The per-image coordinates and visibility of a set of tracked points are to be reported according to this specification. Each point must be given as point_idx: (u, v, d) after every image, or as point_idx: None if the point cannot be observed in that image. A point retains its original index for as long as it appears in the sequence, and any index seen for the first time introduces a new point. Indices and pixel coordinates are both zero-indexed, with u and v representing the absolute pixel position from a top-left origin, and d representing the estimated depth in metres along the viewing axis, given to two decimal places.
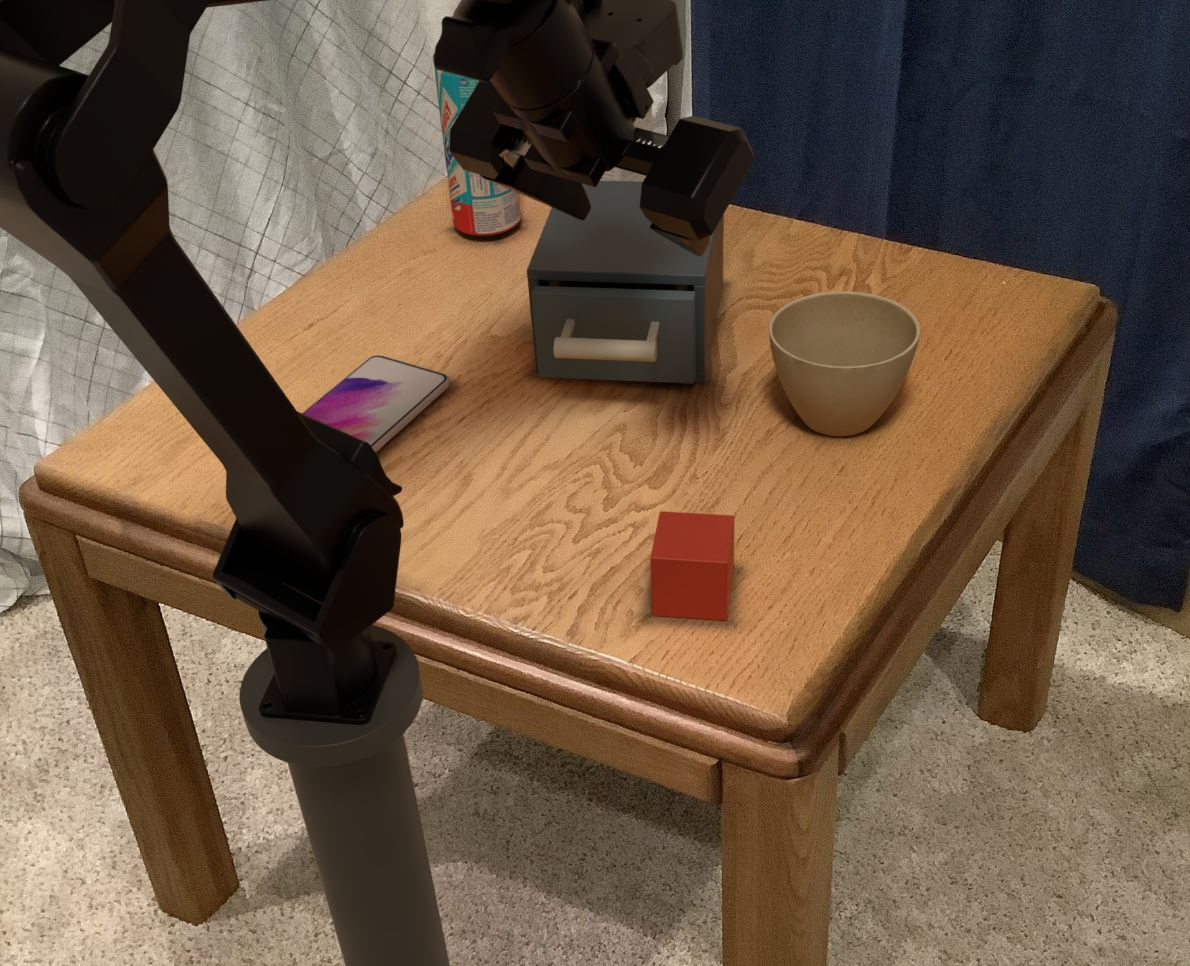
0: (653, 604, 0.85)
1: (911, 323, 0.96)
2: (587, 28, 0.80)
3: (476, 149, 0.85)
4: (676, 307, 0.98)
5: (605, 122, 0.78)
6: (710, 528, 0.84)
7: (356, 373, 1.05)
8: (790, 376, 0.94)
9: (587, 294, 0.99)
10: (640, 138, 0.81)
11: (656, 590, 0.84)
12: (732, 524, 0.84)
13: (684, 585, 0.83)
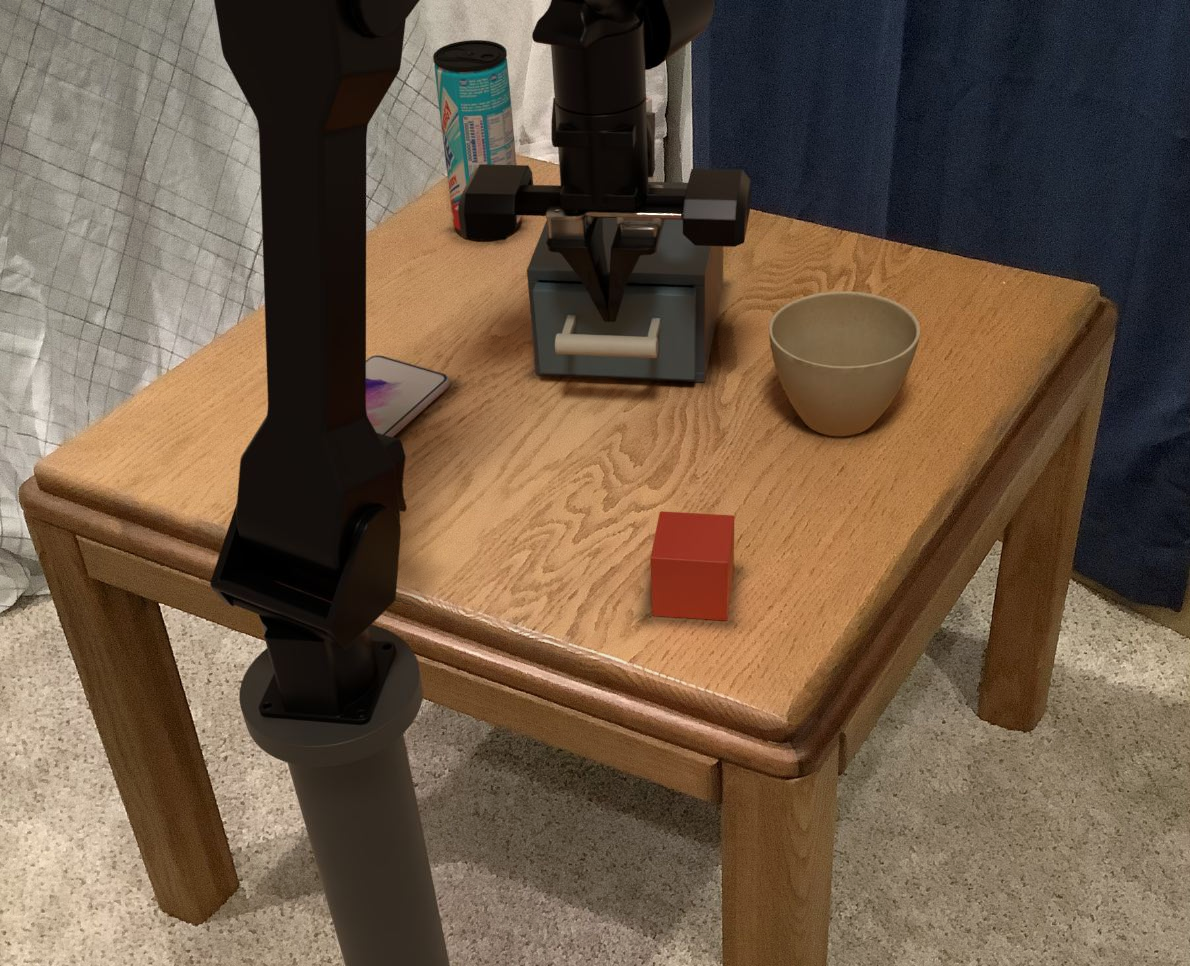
0: (653, 604, 0.85)
1: (911, 323, 0.96)
2: None
3: (496, 205, 0.92)
4: (677, 304, 0.99)
5: (645, 153, 0.90)
6: (710, 528, 0.84)
7: None
8: (790, 376, 0.94)
9: None
10: None
11: (656, 590, 0.84)
12: (732, 524, 0.84)
13: (684, 585, 0.83)
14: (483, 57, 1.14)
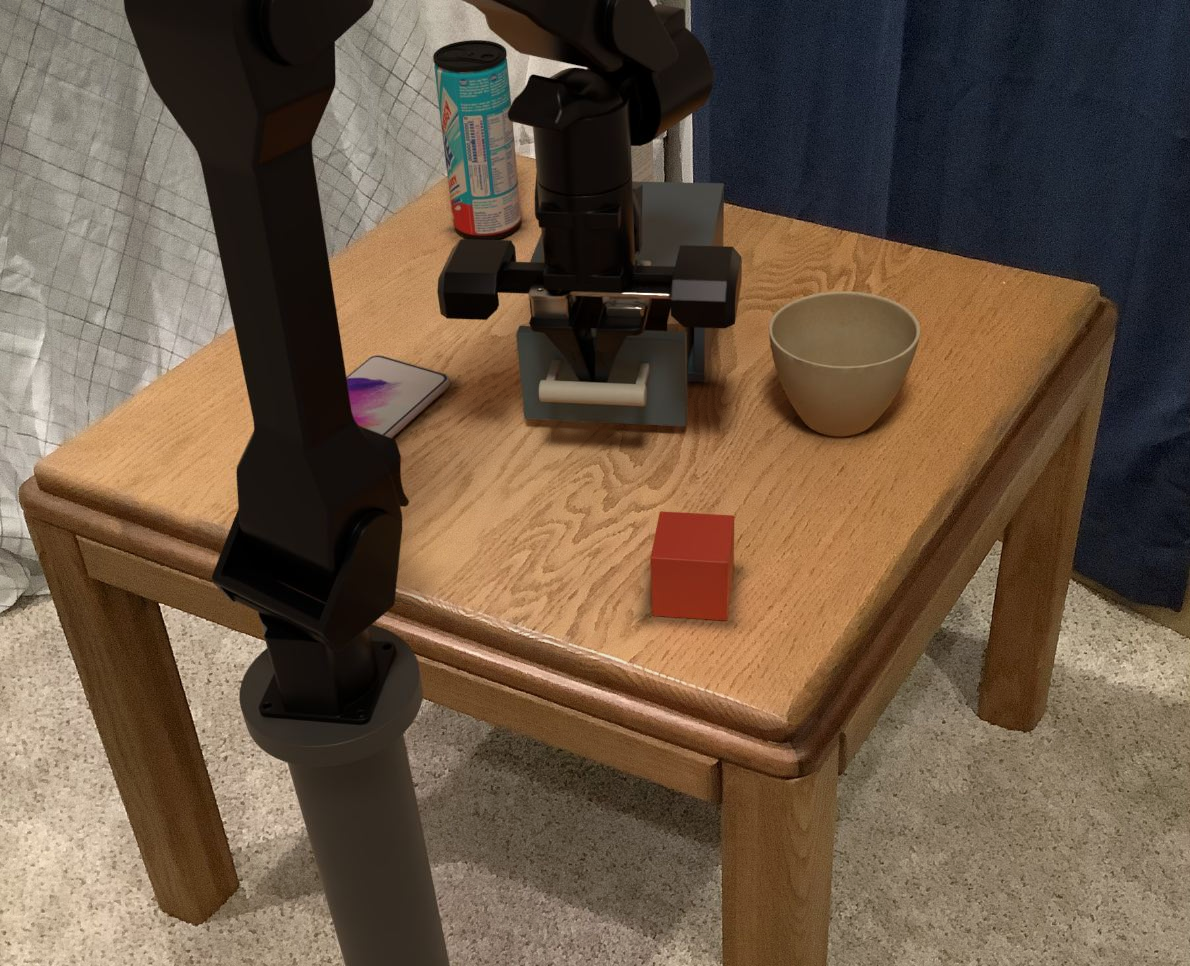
0: (653, 604, 0.85)
1: (911, 323, 0.96)
2: None
3: (477, 284, 0.88)
4: (667, 349, 0.94)
5: (632, 231, 0.87)
6: (710, 528, 0.84)
7: (356, 373, 1.05)
8: (790, 376, 0.94)
9: None
10: None
11: (656, 590, 0.84)
12: (732, 524, 0.84)
13: (684, 585, 0.83)
14: (483, 57, 1.14)
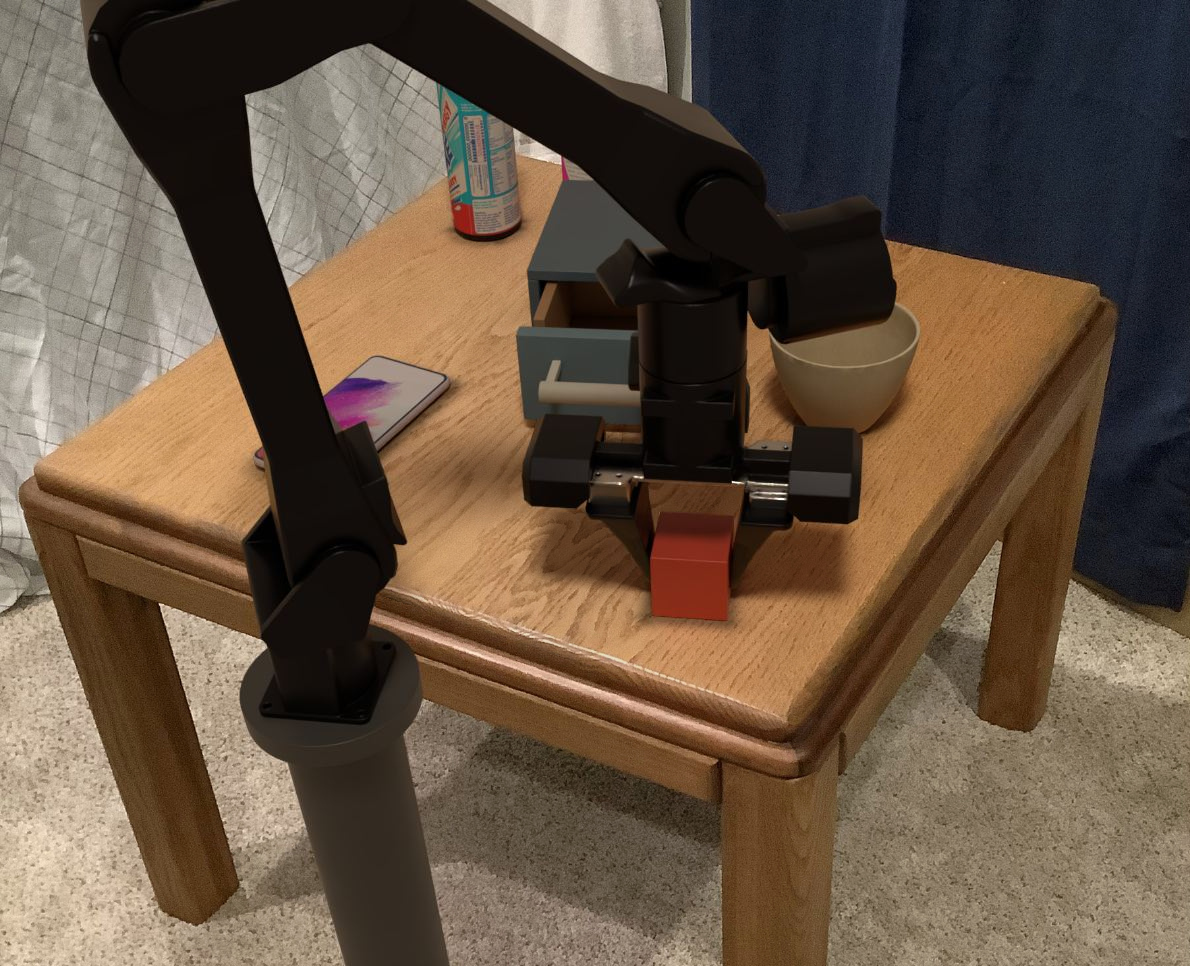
0: (653, 604, 0.85)
1: (911, 323, 0.96)
2: None
3: (567, 472, 0.79)
4: None
5: (743, 416, 0.77)
6: (710, 528, 0.84)
7: (356, 373, 1.05)
8: (790, 376, 0.94)
9: (574, 335, 0.95)
10: None
11: (656, 589, 0.84)
12: (732, 524, 0.84)
13: (684, 585, 0.83)
14: None
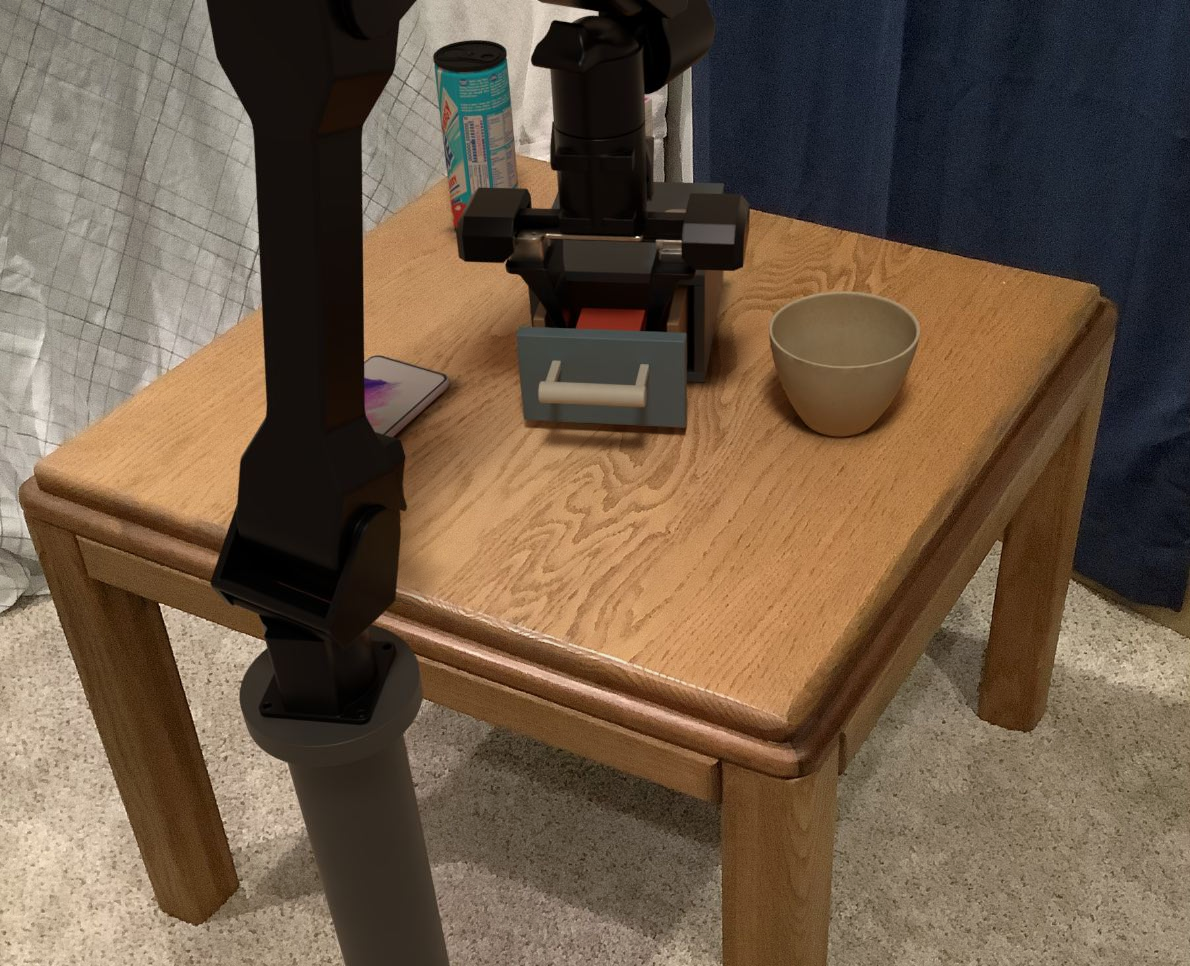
0: None
1: (911, 323, 0.96)
2: None
3: (495, 228, 0.92)
4: (667, 350, 0.94)
5: (644, 177, 0.90)
6: (623, 319, 0.99)
7: None
8: (790, 376, 0.94)
9: (573, 336, 0.95)
10: None
11: None
12: (642, 316, 0.99)
13: None
14: (483, 57, 1.14)
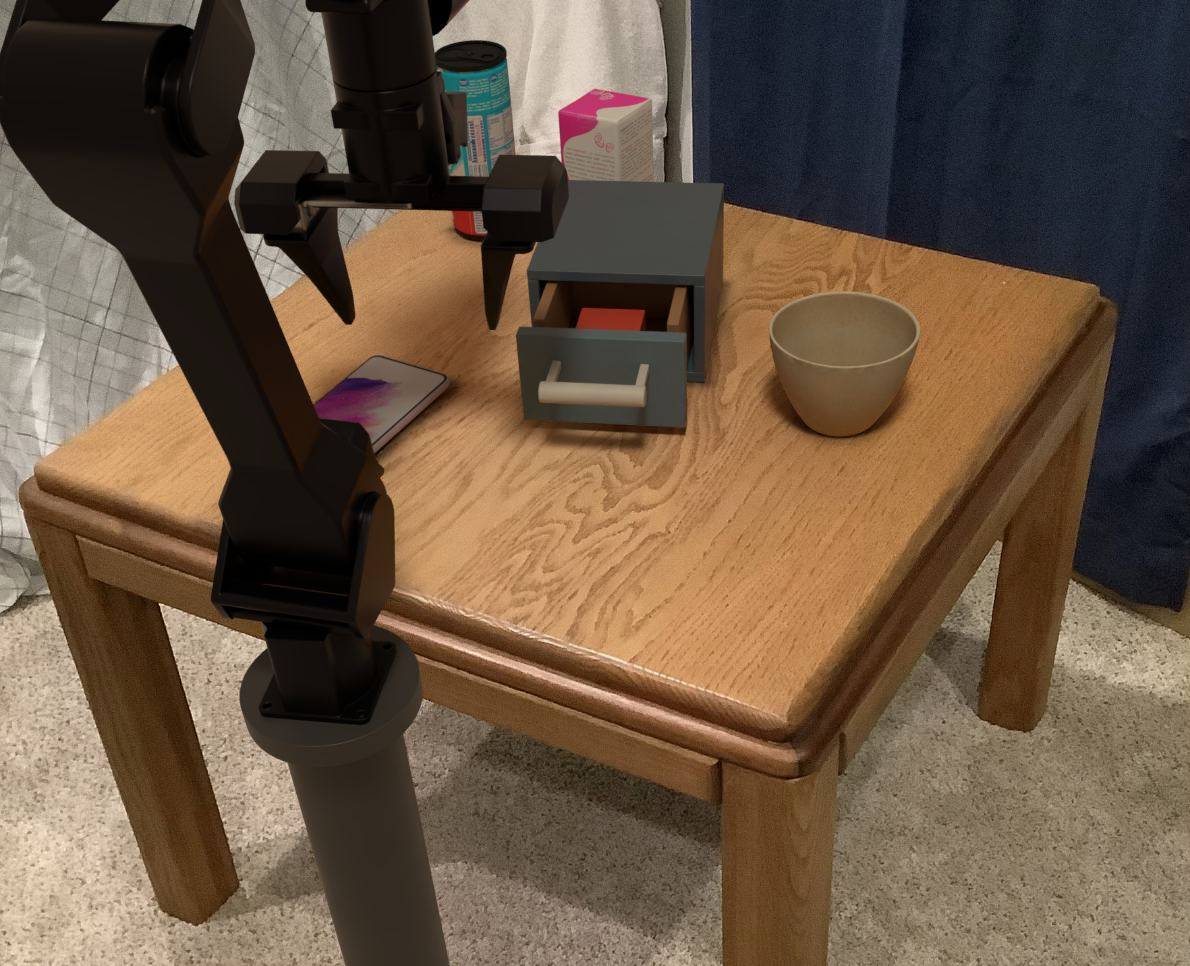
0: None
1: (911, 323, 0.96)
2: None
3: (275, 195, 0.81)
4: (667, 350, 0.94)
5: (440, 136, 0.80)
6: (623, 319, 0.99)
7: (356, 373, 1.05)
8: (790, 376, 0.94)
9: (574, 336, 0.95)
10: None
11: None
12: (642, 316, 0.99)
13: None
14: (483, 57, 1.14)
